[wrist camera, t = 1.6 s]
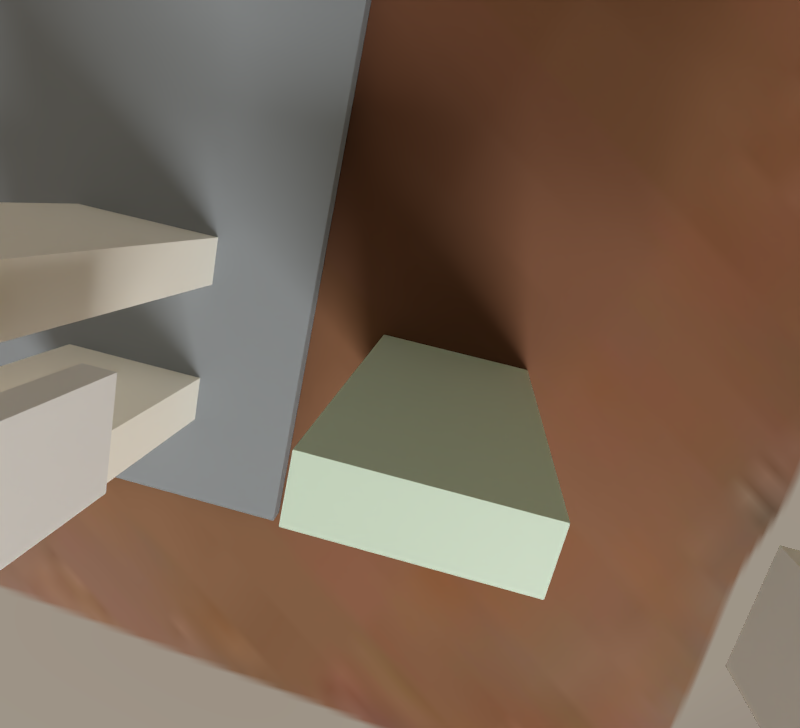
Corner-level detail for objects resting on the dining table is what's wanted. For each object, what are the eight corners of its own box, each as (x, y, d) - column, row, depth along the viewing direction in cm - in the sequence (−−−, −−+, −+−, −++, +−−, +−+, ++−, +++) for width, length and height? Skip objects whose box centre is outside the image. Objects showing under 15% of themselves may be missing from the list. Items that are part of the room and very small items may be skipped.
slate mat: (12, -523, 15) (-7, -552, 15) (454, -460, 14) (453, -488, 14) (-9, 433, 23) (-22, 439, 23) (278, 512, 22) (273, 520, 22)
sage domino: (383, 334, 20) (292, 449, 10) (527, 369, 20) (569, 523, 10) (374, 377, 20) (278, 526, 11) (514, 413, 20) (544, 599, 10)
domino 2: (69, 344, 21) (-278, 456, 11) (200, 378, 21) (-45, 523, 11) (67, 385, 21) (-269, 526, 12) (195, 419, 21) (-45, 592, 11)
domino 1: (77, 203, 20) (-310, 196, 10) (218, 237, 19) (-45, 263, 10) (75, 250, 20) (-298, 287, 10) (211, 284, 20) (-45, 354, 10)
